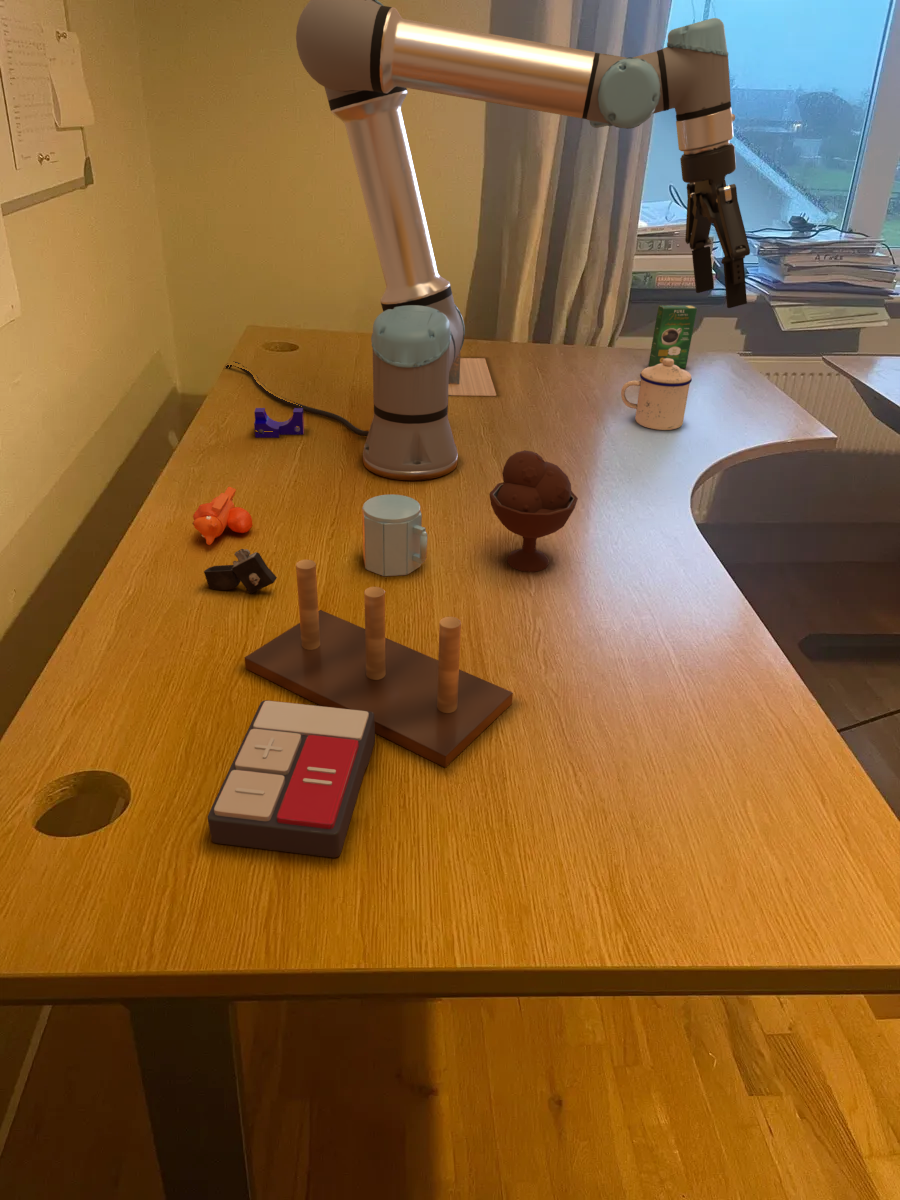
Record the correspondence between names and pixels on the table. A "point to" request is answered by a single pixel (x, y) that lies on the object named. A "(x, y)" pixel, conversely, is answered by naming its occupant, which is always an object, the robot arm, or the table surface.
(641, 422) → the teacup with lid
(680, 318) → the coffee box
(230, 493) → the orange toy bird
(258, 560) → the lighter
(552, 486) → the ice cream bowl
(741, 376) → the table surface
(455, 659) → the peg rack
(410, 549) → the blue cup
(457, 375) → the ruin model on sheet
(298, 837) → the calculator
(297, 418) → the cable holder
